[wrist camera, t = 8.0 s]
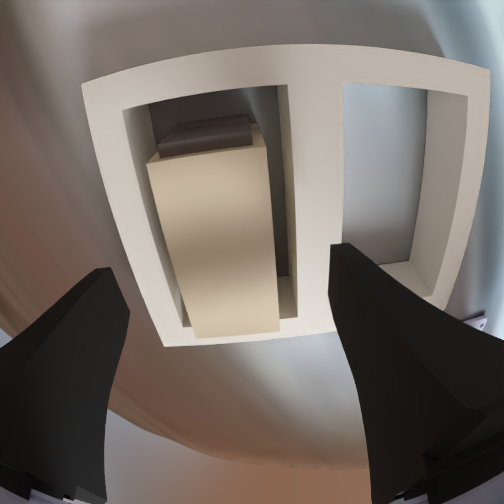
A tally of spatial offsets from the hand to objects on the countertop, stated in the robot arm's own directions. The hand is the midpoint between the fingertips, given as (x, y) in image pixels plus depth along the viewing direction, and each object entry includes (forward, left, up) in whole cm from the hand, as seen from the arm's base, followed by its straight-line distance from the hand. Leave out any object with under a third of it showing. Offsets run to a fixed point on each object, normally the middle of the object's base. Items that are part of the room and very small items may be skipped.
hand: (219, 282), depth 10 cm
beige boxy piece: (0, 0, -7) cm, 7 cm away
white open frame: (0, -4, -7) cm, 8 cm away
